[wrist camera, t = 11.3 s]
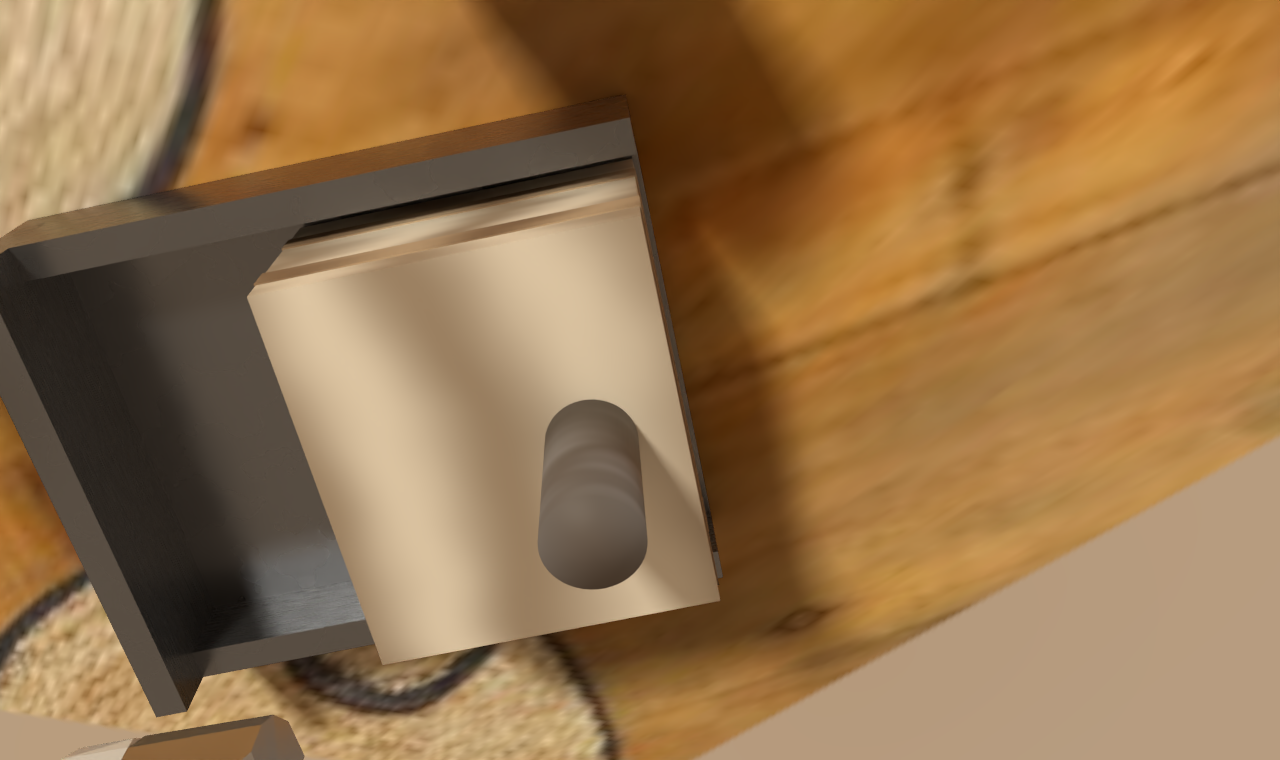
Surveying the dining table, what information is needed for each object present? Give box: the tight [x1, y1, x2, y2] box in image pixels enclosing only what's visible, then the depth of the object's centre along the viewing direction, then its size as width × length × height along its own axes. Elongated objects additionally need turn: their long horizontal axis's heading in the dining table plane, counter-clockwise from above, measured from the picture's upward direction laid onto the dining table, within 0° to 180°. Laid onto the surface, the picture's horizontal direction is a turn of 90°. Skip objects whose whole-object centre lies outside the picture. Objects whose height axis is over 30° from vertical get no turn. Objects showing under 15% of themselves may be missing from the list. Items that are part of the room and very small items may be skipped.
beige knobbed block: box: [247, 159, 720, 665], centre depth 37 cm, size 12×14×13 cm
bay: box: [0, 94, 723, 717], centre depth 42 cm, size 22×18×6 cm
